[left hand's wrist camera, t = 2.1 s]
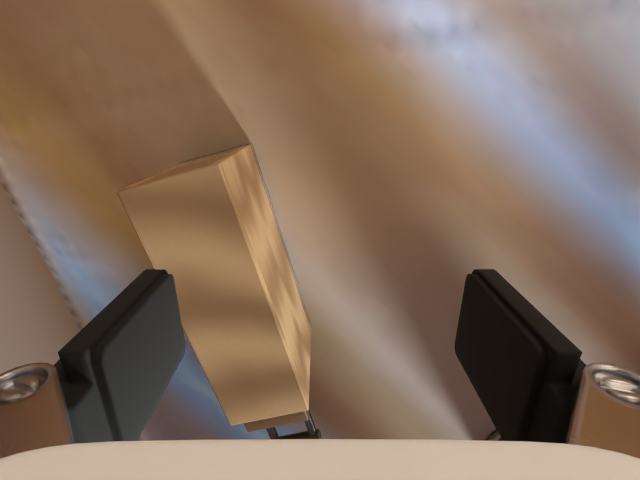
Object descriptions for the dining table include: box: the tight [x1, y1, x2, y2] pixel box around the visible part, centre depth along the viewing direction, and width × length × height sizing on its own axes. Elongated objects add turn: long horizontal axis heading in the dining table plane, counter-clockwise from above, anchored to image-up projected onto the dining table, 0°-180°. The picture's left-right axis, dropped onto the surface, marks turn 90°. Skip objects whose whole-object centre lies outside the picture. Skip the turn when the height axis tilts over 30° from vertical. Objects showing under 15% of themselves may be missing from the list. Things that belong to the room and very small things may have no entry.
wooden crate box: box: [117, 143, 312, 425], centre depth 29 cm, size 20×6×11 cm, turn 15°
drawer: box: [244, 352, 322, 439], centre depth 31 cm, size 24×5×9 cm, turn 15°
